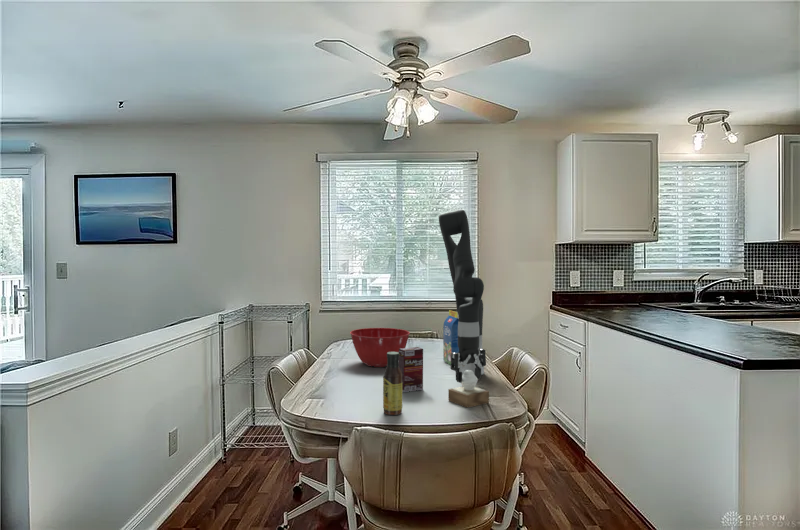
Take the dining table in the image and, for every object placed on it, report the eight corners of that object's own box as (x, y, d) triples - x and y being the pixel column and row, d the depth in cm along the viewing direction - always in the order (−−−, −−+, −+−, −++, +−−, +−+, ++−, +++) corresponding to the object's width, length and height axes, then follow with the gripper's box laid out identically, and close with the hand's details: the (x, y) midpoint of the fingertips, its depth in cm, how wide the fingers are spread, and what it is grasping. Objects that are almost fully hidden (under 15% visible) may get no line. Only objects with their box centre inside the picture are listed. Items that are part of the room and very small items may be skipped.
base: (469, 396, 180) (469, 384, 180) (489, 402, 172) (489, 390, 172) (448, 400, 175) (448, 388, 175) (467, 407, 167) (467, 394, 167)
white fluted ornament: (457, 387, 176) (457, 368, 176) (473, 386, 177) (473, 367, 177) (463, 392, 170) (463, 371, 170) (480, 391, 171) (480, 370, 171)
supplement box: (403, 392, 185) (403, 350, 185) (398, 389, 189) (397, 348, 189) (423, 390, 189) (423, 348, 189) (417, 387, 193) (417, 346, 193)
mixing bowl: (420, 362, 240) (420, 330, 240) (388, 373, 216) (388, 338, 215) (373, 355, 255) (373, 326, 255) (337, 366, 231) (337, 333, 231)
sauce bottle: (382, 410, 164) (382, 350, 164) (401, 409, 164) (401, 350, 164) (383, 416, 157) (383, 354, 157) (403, 416, 158) (403, 354, 158)
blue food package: (451, 366, 230) (451, 312, 230) (443, 360, 242) (443, 310, 242) (463, 365, 232) (463, 312, 231) (455, 360, 243) (455, 309, 243)
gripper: (476, 331, 180) (476, 375, 180) (445, 334, 172) (446, 381, 173) (491, 333, 174) (491, 379, 174) (459, 337, 166) (460, 385, 166)
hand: (468, 380), depth 173 cm, fingers open, 8 cm apart
